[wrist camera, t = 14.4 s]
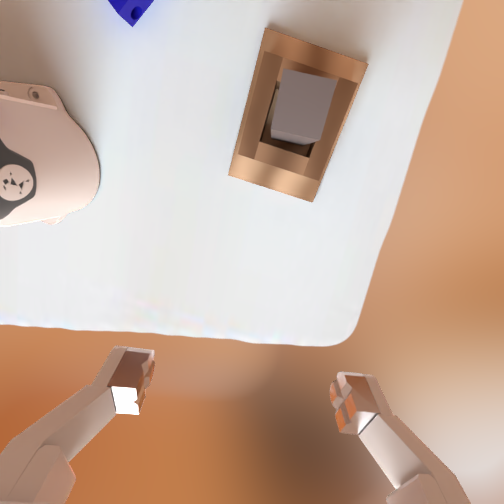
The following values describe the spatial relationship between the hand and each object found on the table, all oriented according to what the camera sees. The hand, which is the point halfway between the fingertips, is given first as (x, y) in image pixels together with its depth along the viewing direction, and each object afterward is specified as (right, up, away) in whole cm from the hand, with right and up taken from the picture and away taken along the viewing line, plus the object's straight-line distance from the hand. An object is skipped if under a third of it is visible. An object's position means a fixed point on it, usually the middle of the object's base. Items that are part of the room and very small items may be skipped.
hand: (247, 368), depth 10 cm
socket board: (+5, +21, +20) cm, 29 cm away
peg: (+5, +21, +19) cm, 28 cm away
